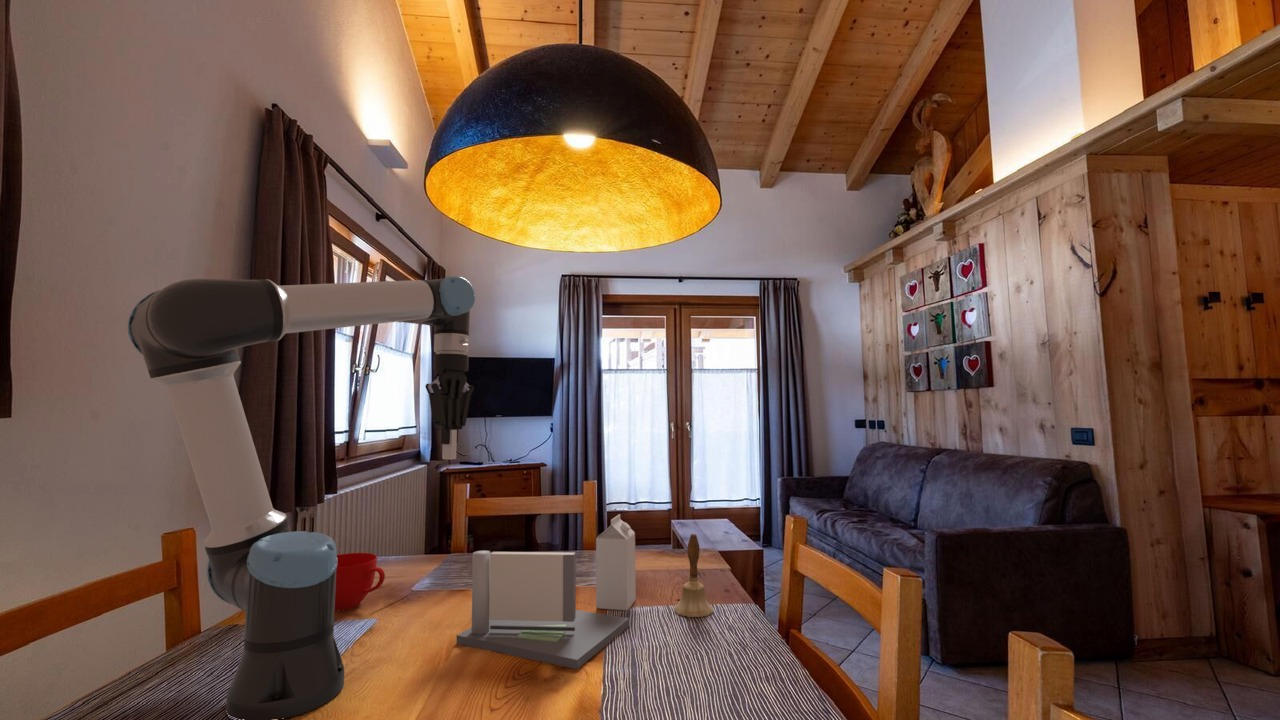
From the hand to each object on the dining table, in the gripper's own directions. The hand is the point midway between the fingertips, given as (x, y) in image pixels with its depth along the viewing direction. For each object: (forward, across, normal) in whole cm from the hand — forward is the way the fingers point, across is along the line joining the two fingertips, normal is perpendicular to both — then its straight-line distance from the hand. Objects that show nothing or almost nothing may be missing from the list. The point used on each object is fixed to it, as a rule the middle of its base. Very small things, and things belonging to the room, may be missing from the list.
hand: (449, 459), depth 123 cm
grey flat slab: (+32, -3, -28) cm, 43 cm away
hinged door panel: (+31, -7, -26) cm, 41 cm away
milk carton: (+33, +17, -33) cm, 49 cm away
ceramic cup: (+33, -7, +21) cm, 39 cm away
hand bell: (+33, +20, -50) cm, 63 cm away
